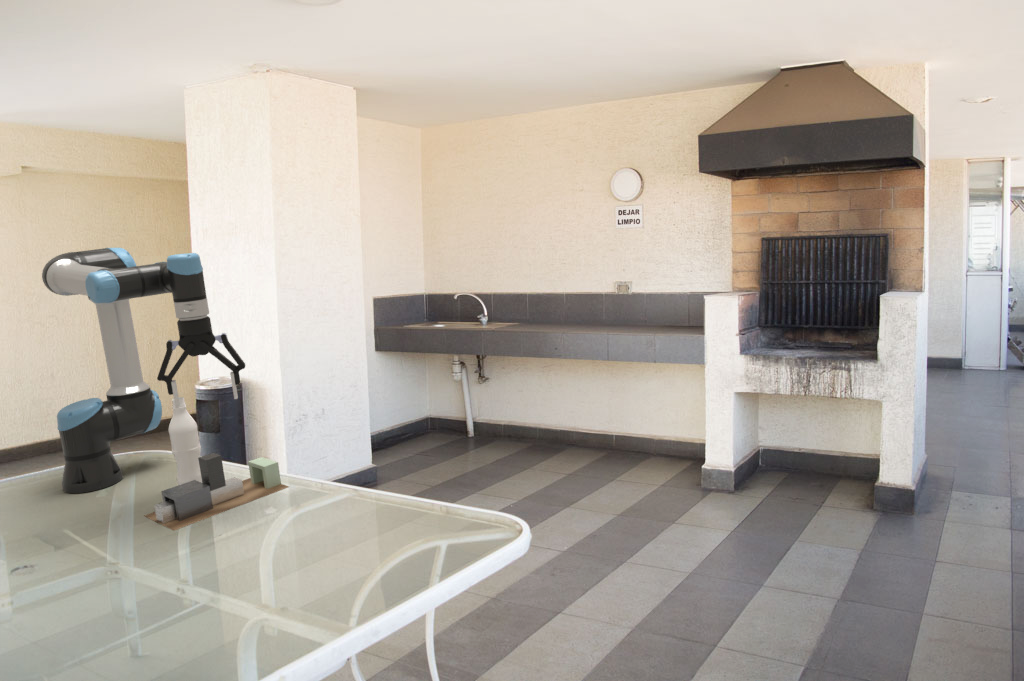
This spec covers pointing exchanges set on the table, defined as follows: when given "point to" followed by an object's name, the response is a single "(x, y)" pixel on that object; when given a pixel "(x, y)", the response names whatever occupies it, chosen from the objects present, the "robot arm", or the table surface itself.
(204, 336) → the robot arm
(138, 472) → the table surface
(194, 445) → the water bottle
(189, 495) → the sleeve
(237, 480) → the rod
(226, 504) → the base board
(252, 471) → the socket block
